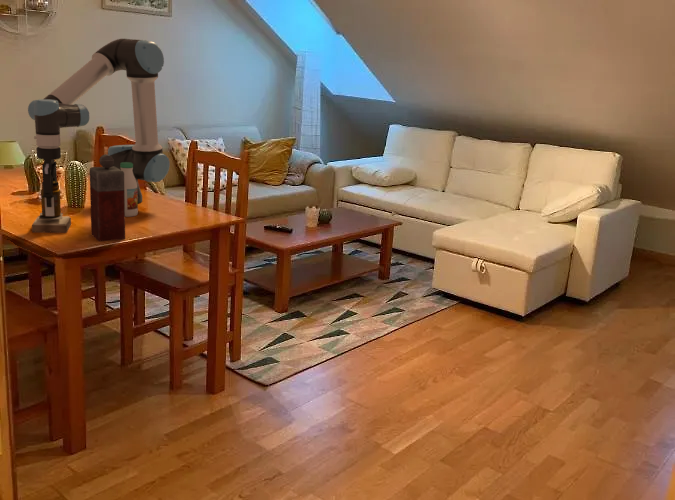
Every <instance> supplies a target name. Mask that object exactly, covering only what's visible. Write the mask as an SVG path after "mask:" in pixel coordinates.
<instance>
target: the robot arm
mask: <svg viewBox="0 0 675 500" xmlns="http://www.w3.org/2000/svg"><path fill="white" fill-rule="evenodd" d="M164 64H165V58H164V54H163V51H162V49H161V47H159V46H158V44H157V43H156V42H154V41H151V40H146V39H133V38H132V39H130V38H117V39H115V40H112V41H110V42H109V43H107V44H105V45H103V46H102V47H100V48H99V49H97V50H96V51H95V52H94V53H93V54H92V56H91V59H90V60H89V61H88V62H86V64H84V65H83V66H82V67H80V69H78V70H77V71H75V72H74V73H73V74H72V75H71V76H69V77H68V78H67V79H66V80H65V81H63V82H62V83H61V84H60V85H59V86H57V87H56V88H55V89H54V90H53V91H51V92H50V93H49V94H48V95H46V96H45V97H44V98H41V99H40V98H39V99H35V100H31V101H30V103H29V104H28V107H27V113H28V115H29V116H28V117H30V119H31V120H33V121H34V126H35V136H34V137H33V139H34V140H35V141H36V142H35V144H36V146H37V147H36V148H35V149H36V158H37V159H39V160H43V164H42V165H41V171H42V182H43V196H42V198H45V214H46V216H54V197H53V181H57V182H58V179H57V178H58V177H57V161H55V160H60V159H61V158H62V155H61V154H62V152H61V150H62V148H60V146H61V129H63V128H76V127H77V128H79V127H83V126H86V125H87V124H88V123H89V121H90V112H89V109H88V108H87V107H86V105H83V104H79V103H78V104H77V103H75V102H77V101H78V100H79V99H80V98H82V97H83V96H84V95H85V94H86V93H87V92H88V91H89V90H91V89H92V88H93V87H94V86H95V85H97V84H99V82H100V81H102V80H103V79H104V78H105V77H107V76H108V77H109V76H112V75H113V74H114V73H116V72H119V71H126V73H125V75H126V78H127V79H128V80H129V81H130V84H131V97H132V112H133V124H134V126H133V127H134V140H135V143H134V144H119V145H112V146H111V145H110V146H109V147H108V149H107V155H109V156H111V157H112V158H113V159H114V164H113V166H115V167H117V168H118V169H120V168H121V167H120V163H122V162H130V163H133V169H132V171H133V175H134V177H135V179H136V182H137V190H138V204H140V203H142V202H143V193H142V191H141V188H140V185H139V180H140V181H145V182H146V183H147V182H148V183H159V182H161V181H163V180H164V179H165V178H166V176H167V175H168V173H169V170H170V165H171V164H170V159H169V157H168V156H167V155H166V154H164V153H163V151H164V149H163V146H162V145H161V144H160V143H159V135H158V133H159V132H158V121H157V119H158V118H157V117H158V116H157V104H156V89H155V84H156V83H155V81H156V80H157V79H158V78H159V73H160V72H161V71H162V70H163V67H164ZM113 166H112V167H113ZM120 170H121V169H120Z"/></svg>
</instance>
